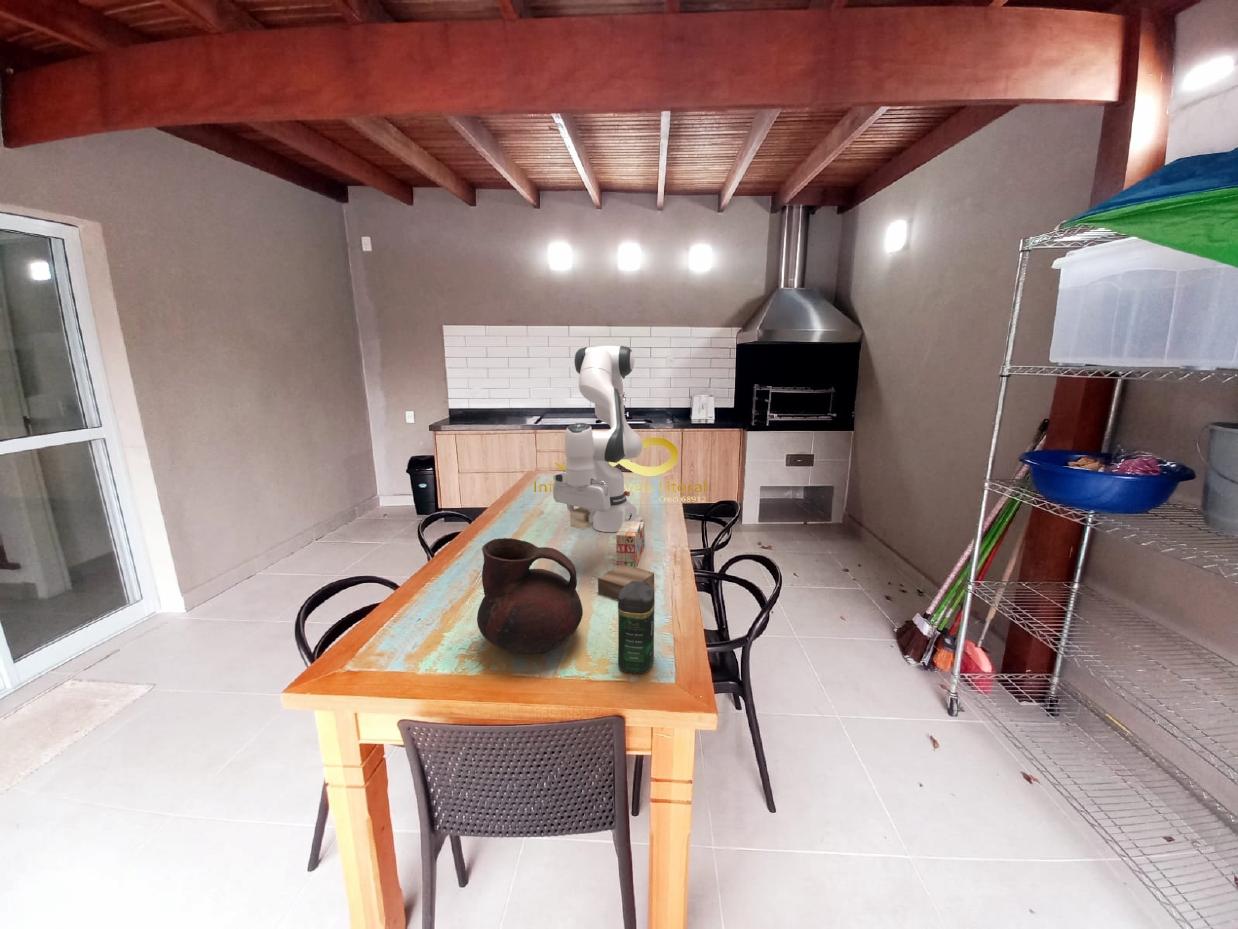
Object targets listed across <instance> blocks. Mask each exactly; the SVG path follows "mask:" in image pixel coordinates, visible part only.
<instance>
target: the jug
mask: <svg viewBox="0 0 1238 929" xmlns="http://www.w3.org/2000/svg"><path fill="white" fill-rule="evenodd" d="M481 551H482V555H483V564H482V569H481V570H482V573H481V583H482V588H483V594H484V596H483V598H482V600H481V602H480V604H479V606H478V610H477V616H476V617H477V619H476V623H477V628H478V629H479V631H480V634H481V635H482V636H483V638H484V639H485V640H486V641H488V642H489V643H490V644H492V645H494V646H495V647H497V648H499V649H501V650H503V651H506V652H509V653H512V654H519V655H520V654H521V655H531V654H532V655H533V654H534V655H535V654H539V653H540V654H541V653H544V652H549V651H550V650H553V649H555V648H557V647H559V646H560V645H562V644H564V643H565V642H566V641H568V639H570V638H571V636H572V635H573V634H574V633H575V632H576V630H577V629H578V628H579V625H580V624H581V623H582V622H581V621H582V619H583V614H584V613H583V611H584V610H583V605H582V602H581V601H582V600H581V598H580V595H579V593H578V591H577V586H578V578H577V568H576V566H575V564H574V563H573V561H572V560H571V559H570V558H569V557H568V556H567V555H565V554H564V553H563V552H561V551H560V550H557V549H555V548H553V547H544V546H543V547H542V546H541V547H538V546H536V545H535V544H533V543H531V542H529V541H526V540H520V539H517V538H510V537H509V538H508V537H502V538H494V539H491V540H490V541H488V542H485V544H484V545H483V546H482V548H481ZM540 559H547V560H552V561H553V562H555V563H558V564H559V566H561V567H562V568H563V569H564V570H566V572H568V574H569V580H568V579H566V578H565V577H564V576H562V575H561V574H559V573H557V572H554V571H551V570H548V569H544V568H531V567H532V565H533V563H534V562H535V561H537V560H540Z"/></svg>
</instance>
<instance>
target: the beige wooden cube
mask: <svg viewBox="0 0 1238 929" xmlns="http://www.w3.org/2000/svg"><path fill="white" fill-rule="evenodd" d="M589 514H590V512H589V509H586V508H582V507H577V508H574V510H572V511H570V512H569V517H570V527H571V528H575V529H579V530H587V529H588V528H590V527H593V522H591V523H590V522H587V521H586V520H587V519H586V517H587V516H589Z"/></svg>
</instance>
